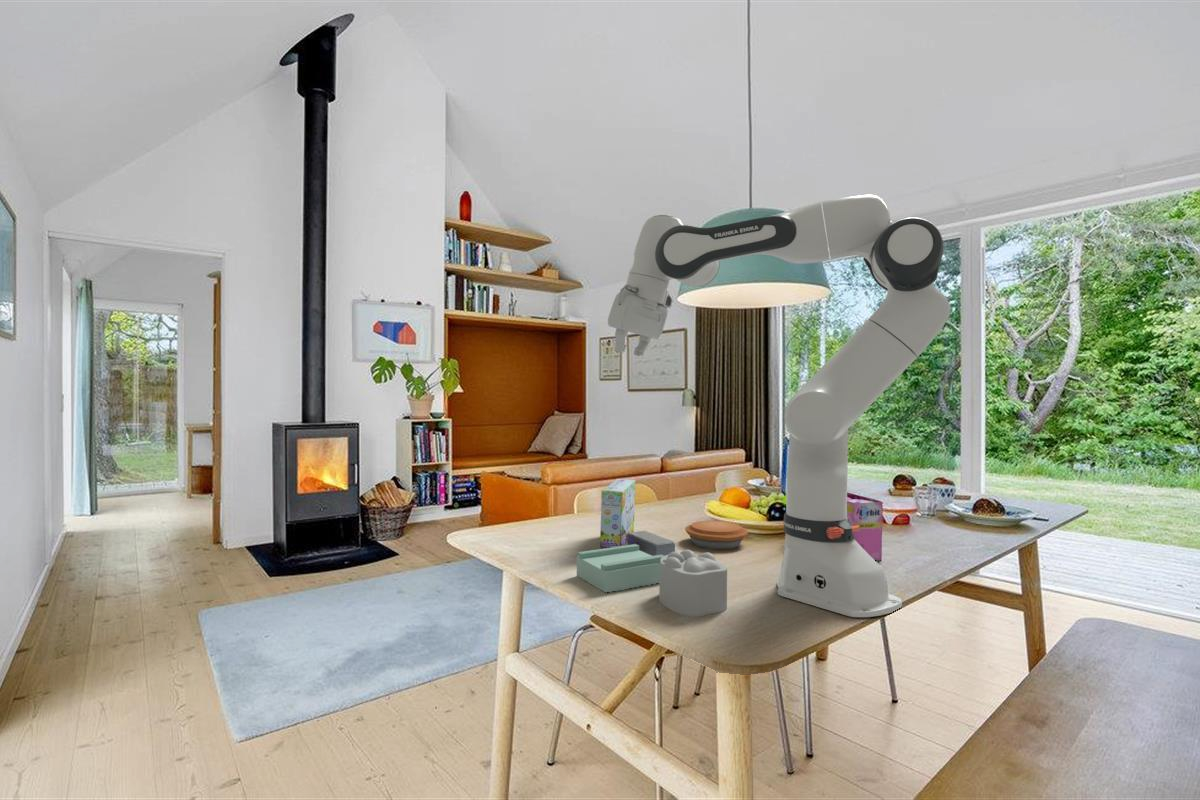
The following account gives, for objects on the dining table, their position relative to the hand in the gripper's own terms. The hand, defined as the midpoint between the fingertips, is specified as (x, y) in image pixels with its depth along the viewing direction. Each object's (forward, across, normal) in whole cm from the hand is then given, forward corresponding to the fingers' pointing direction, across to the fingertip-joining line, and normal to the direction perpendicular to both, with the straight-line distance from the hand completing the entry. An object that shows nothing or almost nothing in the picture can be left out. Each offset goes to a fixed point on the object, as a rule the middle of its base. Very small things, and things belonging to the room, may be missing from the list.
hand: (628, 354), depth 130 cm
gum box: (+34, +39, -49) cm, 71 cm away
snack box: (+47, +16, -3) cm, 50 cm away
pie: (+41, +29, -23) cm, 55 cm away
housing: (+44, +9, -14) cm, 47 cm away
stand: (+44, -8, -16) cm, 47 cm away
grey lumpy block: (+40, -14, -32) cm, 53 cm away
